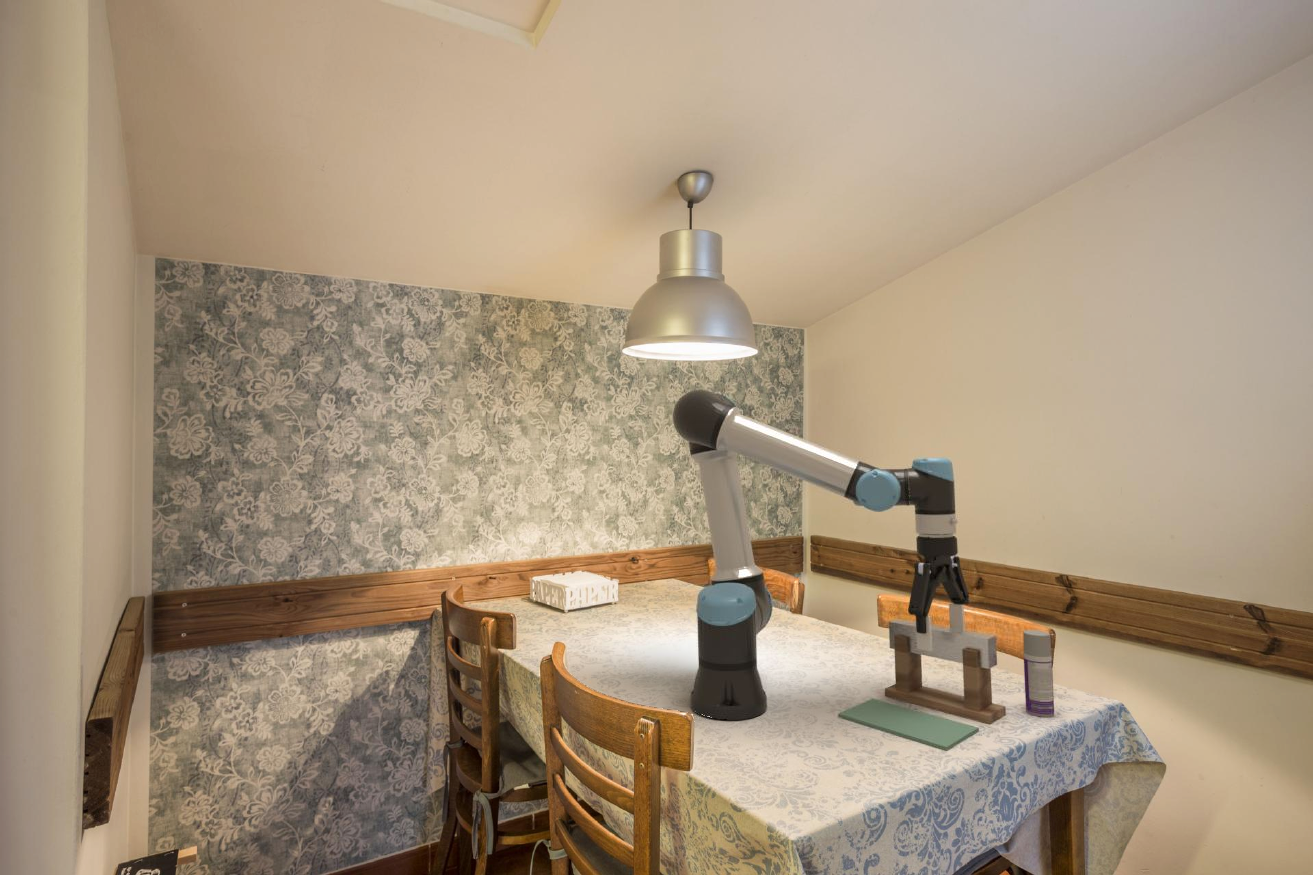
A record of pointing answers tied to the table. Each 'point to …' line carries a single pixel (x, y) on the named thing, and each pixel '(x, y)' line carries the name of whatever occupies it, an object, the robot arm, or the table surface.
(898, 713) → the mat
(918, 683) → the rack
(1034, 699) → the container
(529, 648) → the table surface
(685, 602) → the table surface
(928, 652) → the rail
